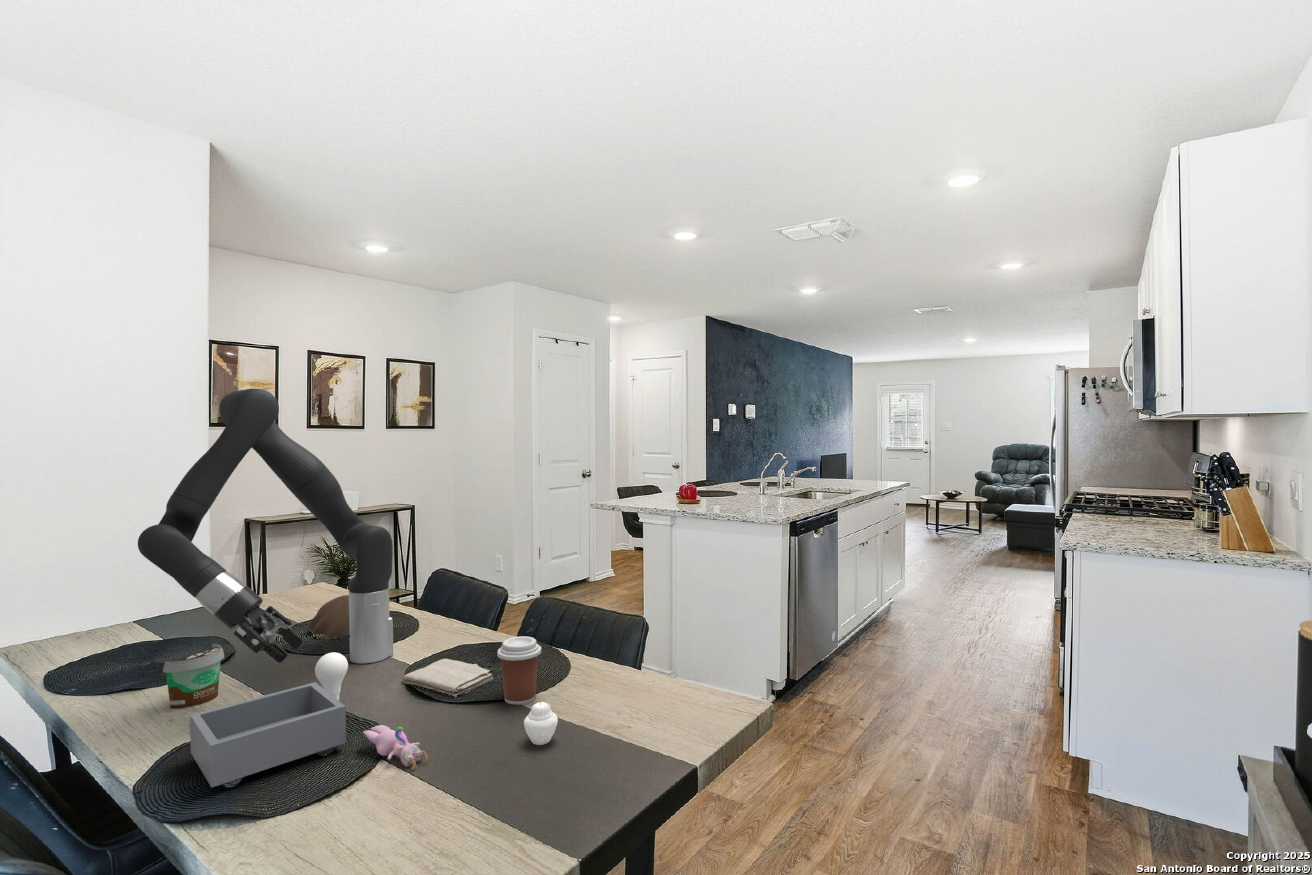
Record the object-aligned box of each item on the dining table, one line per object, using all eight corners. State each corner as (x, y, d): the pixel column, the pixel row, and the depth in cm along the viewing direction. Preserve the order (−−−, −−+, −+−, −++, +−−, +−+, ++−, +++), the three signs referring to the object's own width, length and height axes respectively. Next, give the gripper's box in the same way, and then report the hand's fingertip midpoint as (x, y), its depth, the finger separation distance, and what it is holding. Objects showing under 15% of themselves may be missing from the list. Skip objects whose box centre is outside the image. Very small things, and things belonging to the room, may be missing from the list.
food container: (188, 713, 131) (187, 664, 131) (163, 711, 133) (162, 662, 132) (239, 689, 143) (238, 644, 143) (215, 687, 145) (214, 643, 145)
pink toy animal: (435, 766, 112) (382, 732, 120) (438, 733, 111) (384, 701, 119) (404, 783, 106) (350, 746, 114) (407, 749, 106) (353, 714, 114)
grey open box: (316, 723, 126) (315, 682, 126) (346, 751, 115) (345, 705, 115) (190, 761, 112) (189, 714, 112) (211, 797, 100) (210, 745, 100)
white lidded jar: (542, 752, 113) (541, 712, 113) (516, 743, 116) (515, 704, 116) (565, 737, 118) (564, 699, 118) (540, 730, 122) (539, 692, 122)
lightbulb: (355, 702, 136) (354, 649, 136) (332, 714, 130) (331, 659, 130) (332, 698, 138) (331, 647, 138) (308, 710, 132) (307, 656, 132)
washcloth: (457, 700, 137) (457, 686, 137) (399, 685, 146) (399, 671, 146) (497, 681, 147) (496, 667, 147) (440, 668, 156) (440, 655, 156)
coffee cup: (550, 693, 139) (549, 637, 139) (525, 710, 130) (524, 650, 130) (516, 686, 143) (515, 632, 142) (488, 702, 134) (487, 645, 134)
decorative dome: (292, 640, 179) (291, 603, 179) (336, 619, 198) (335, 586, 198) (357, 641, 176) (357, 605, 176) (396, 620, 196) (395, 587, 196)
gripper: (227, 593, 124) (294, 649, 126) (258, 577, 138) (317, 627, 140) (197, 623, 123) (264, 679, 125) (231, 604, 137) (291, 654, 139)
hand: (292, 651), depth 132 cm, fingers open, 8 cm apart
